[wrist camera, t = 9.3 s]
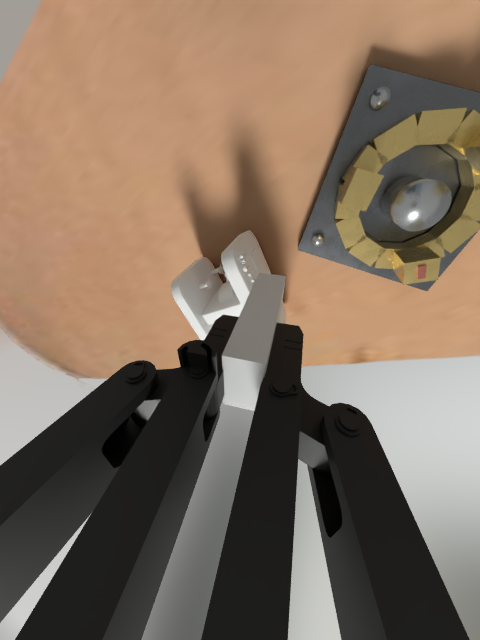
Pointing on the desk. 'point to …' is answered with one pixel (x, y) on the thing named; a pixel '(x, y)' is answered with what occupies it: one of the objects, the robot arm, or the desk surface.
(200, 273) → the cable organizer
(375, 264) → the ring nut
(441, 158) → the flange
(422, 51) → the desk surface
